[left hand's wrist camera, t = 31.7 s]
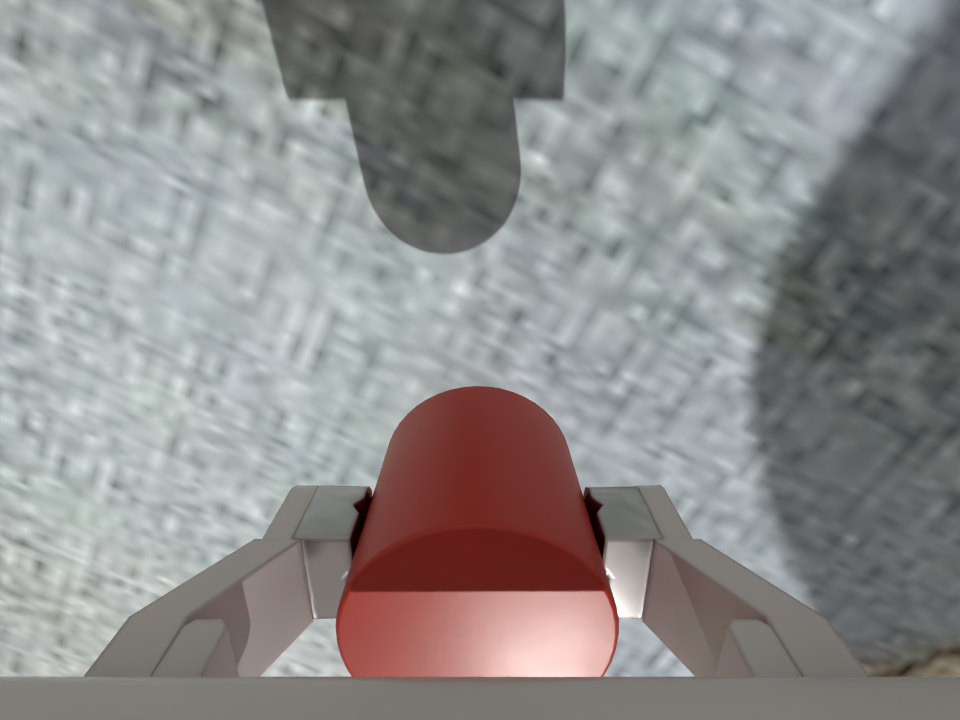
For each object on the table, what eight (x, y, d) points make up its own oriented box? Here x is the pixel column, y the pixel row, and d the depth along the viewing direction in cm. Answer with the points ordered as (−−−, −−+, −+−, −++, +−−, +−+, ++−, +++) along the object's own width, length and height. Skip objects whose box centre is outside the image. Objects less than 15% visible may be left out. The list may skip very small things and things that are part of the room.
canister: (481, 569, 13) (483, 769, 9) (348, 471, 12) (276, 646, 8) (607, 464, 12) (679, 636, 8) (472, 346, 11) (469, 469, 7)
